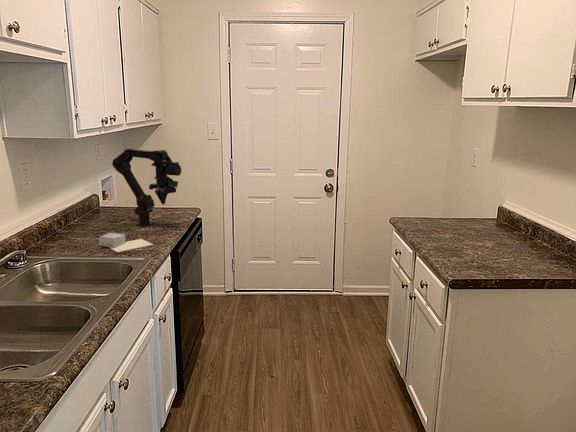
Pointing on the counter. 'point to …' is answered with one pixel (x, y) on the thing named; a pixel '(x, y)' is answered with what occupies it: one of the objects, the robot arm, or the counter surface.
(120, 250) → the pale rubber mat
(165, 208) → the counter surface
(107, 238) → the medicine box
